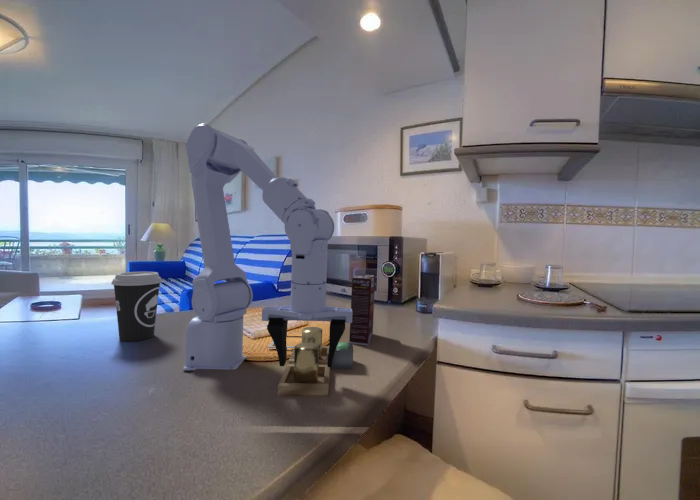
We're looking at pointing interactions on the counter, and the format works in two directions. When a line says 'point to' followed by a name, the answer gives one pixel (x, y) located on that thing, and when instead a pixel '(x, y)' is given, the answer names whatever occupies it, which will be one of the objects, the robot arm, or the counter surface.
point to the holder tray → (306, 389)
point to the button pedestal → (343, 358)
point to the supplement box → (362, 309)
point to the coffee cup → (136, 304)
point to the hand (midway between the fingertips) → (306, 364)
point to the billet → (306, 363)
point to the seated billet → (313, 337)
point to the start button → (342, 345)
